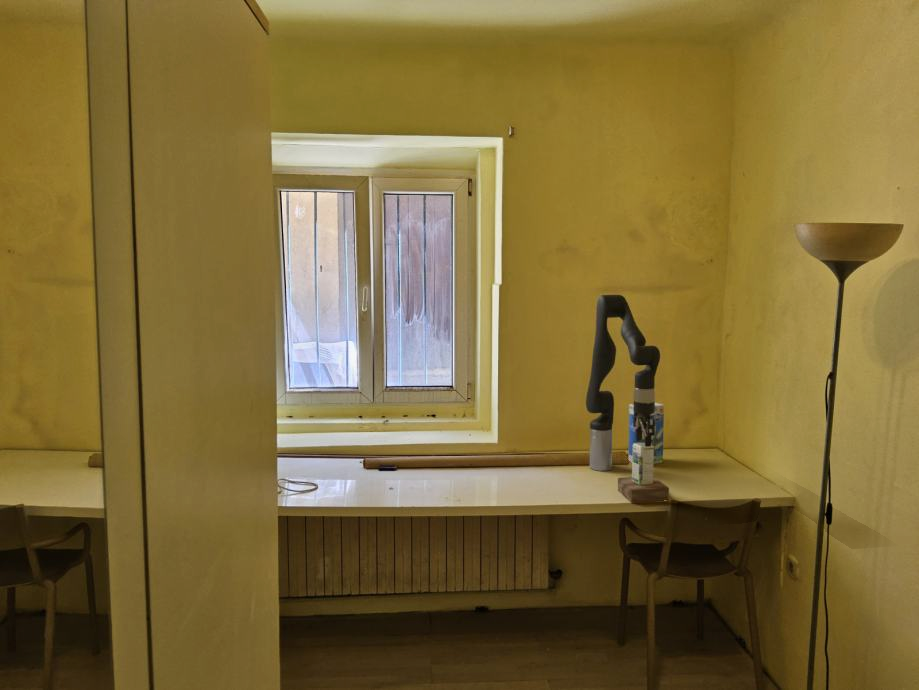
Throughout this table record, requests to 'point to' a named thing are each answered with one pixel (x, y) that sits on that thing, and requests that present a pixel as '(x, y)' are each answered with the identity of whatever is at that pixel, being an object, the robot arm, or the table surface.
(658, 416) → the string lights box
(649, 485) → the walnut block
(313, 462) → the table surface
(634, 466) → the syrup box
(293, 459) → the table surface
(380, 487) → the table surface
